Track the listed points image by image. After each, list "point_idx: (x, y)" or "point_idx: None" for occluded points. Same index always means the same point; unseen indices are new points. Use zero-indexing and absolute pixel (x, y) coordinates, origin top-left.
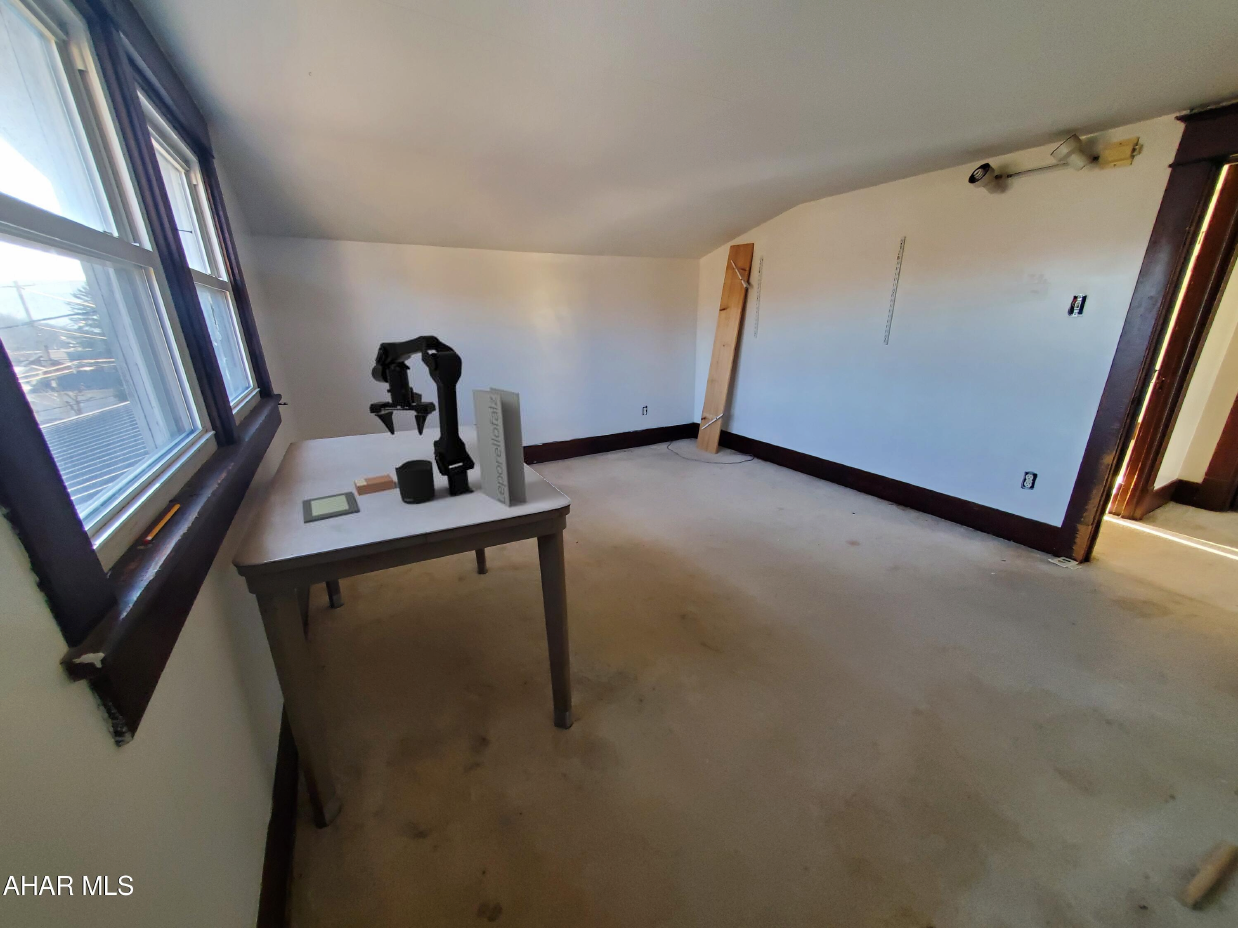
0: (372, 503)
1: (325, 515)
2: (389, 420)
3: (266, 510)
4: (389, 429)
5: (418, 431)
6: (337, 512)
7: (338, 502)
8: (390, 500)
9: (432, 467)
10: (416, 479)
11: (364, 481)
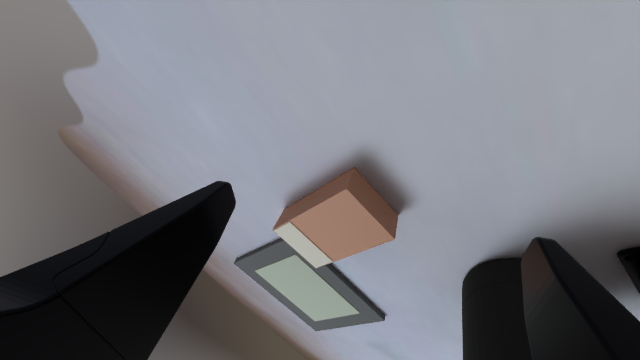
0: (389, 288)
1: (335, 323)
2: (120, 319)
3: (211, 276)
4: (202, 258)
5: (531, 318)
6: (348, 319)
7: (315, 286)
8: (428, 282)
9: None
10: None
11: (310, 243)
